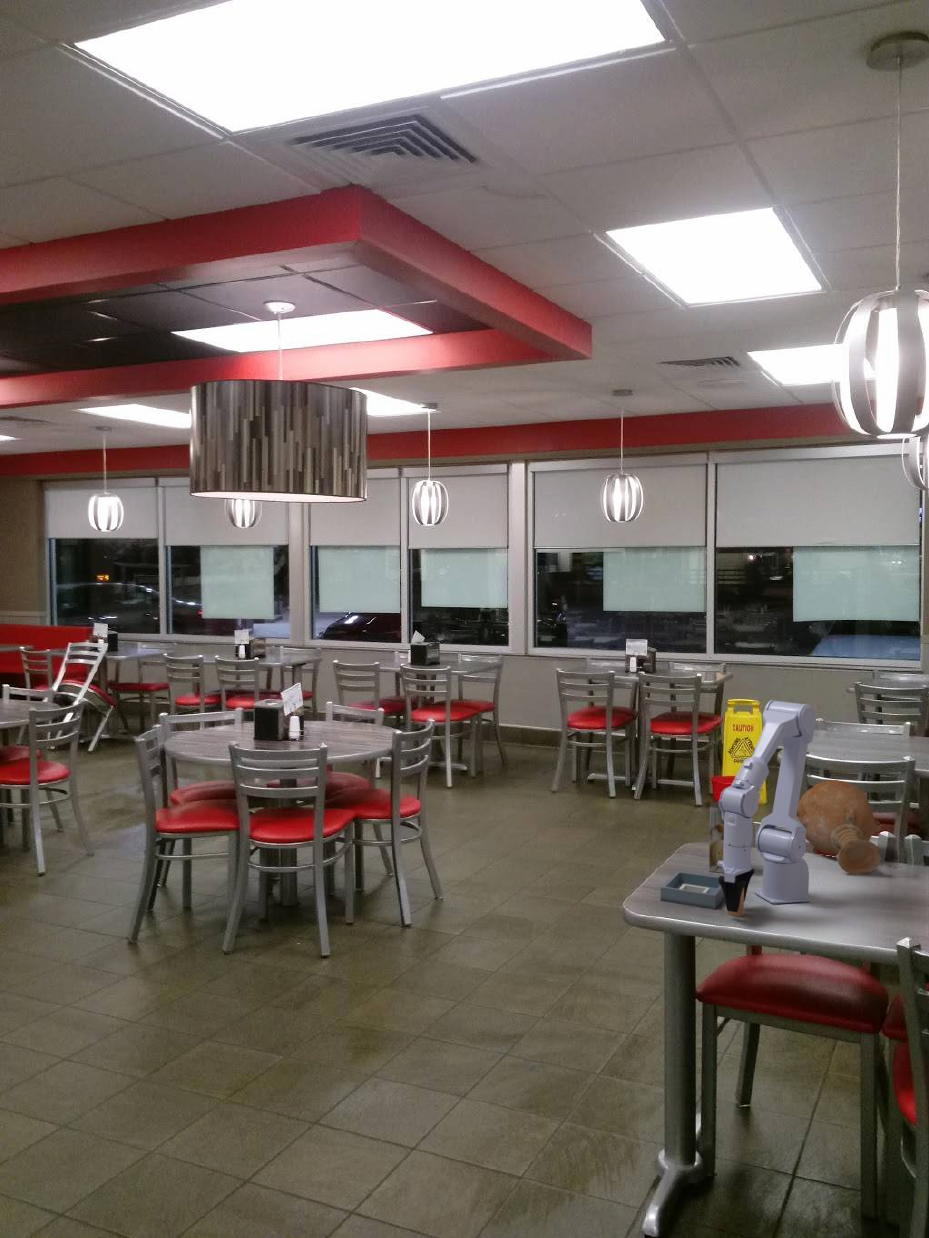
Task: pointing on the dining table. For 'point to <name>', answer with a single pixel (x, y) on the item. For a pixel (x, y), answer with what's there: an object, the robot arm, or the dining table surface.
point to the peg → (740, 910)
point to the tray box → (693, 890)
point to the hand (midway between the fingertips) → (735, 906)
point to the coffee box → (716, 838)
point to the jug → (841, 824)
